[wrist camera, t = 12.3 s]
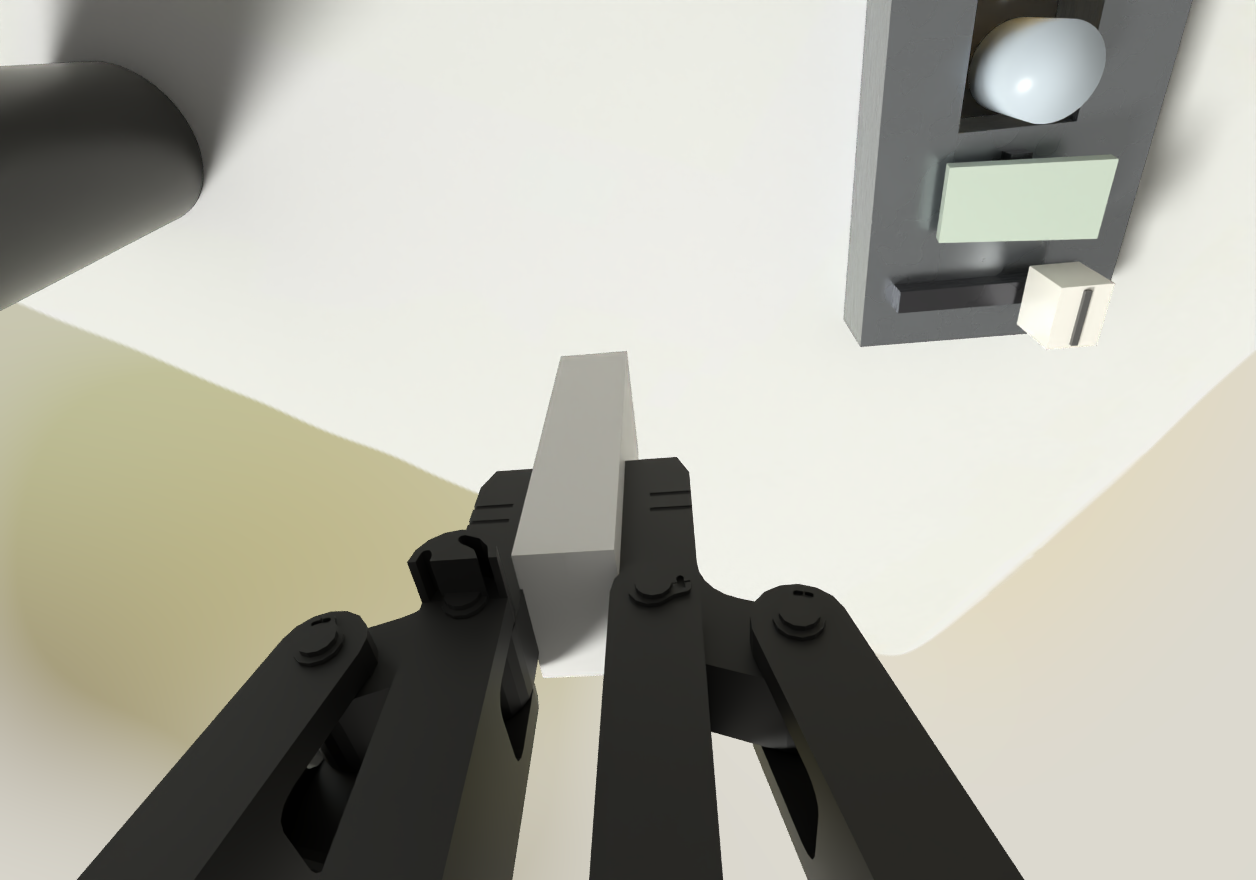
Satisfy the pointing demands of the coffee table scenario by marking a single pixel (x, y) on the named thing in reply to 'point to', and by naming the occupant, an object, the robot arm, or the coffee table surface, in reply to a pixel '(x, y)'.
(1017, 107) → the blue-grey button
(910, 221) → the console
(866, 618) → the coffee table surface
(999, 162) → the panel
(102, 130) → the water bottle
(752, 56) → the coffee table surface
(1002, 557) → the coffee table surface
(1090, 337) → the fader knob
